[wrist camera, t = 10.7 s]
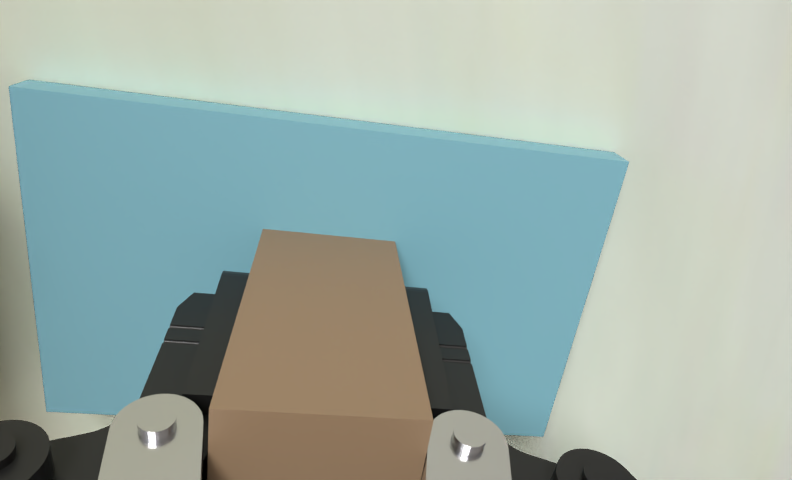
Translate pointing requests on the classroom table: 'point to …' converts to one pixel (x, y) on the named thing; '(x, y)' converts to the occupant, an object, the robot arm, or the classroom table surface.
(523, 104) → the classroom table surface
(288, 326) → the lid
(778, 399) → the classroom table surface
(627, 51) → the classroom table surface
